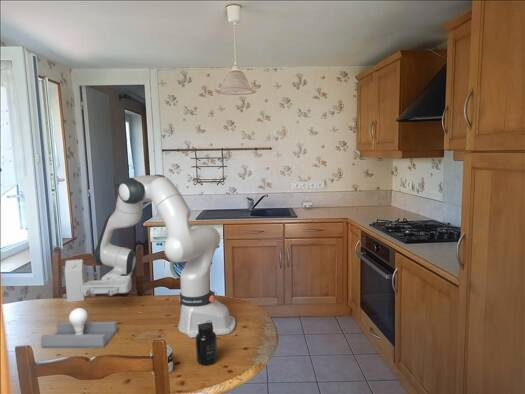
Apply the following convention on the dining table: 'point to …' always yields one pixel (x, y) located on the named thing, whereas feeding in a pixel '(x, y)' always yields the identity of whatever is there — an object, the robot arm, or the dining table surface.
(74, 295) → the milk carton
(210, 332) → the supplement bottle
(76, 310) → the lightbulb
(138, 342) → the dining table surface
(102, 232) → the robot arm
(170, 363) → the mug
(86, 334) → the trough
